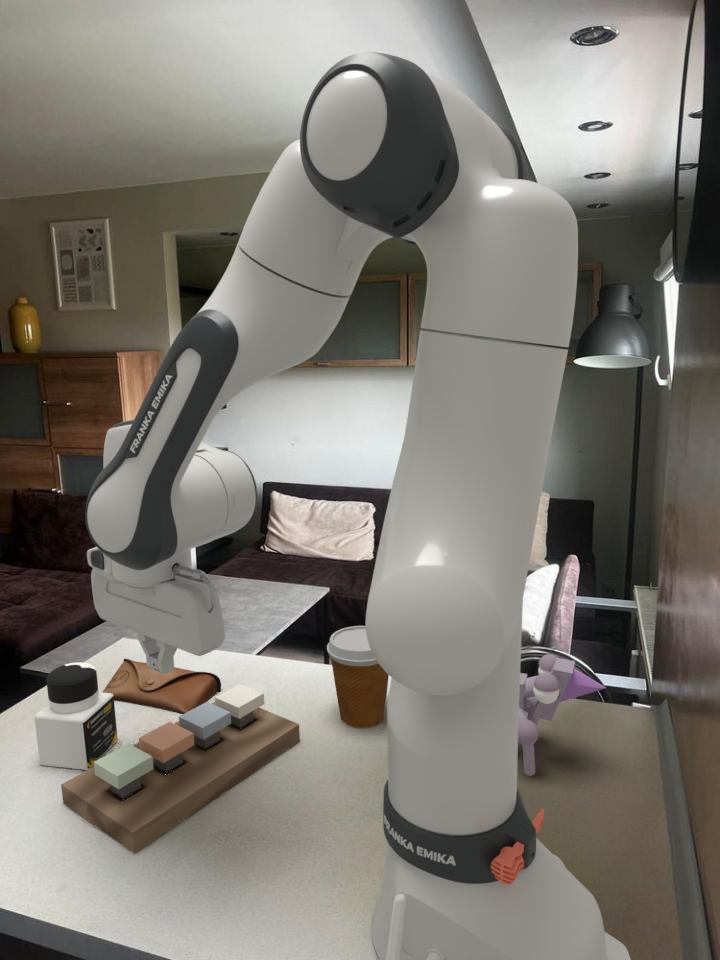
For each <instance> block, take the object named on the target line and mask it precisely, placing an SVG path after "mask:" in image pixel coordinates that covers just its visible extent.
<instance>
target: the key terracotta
mask: <svg viewBox="0 0 720 960" xmlns="http://www.w3.org/2000/svg"><path fill="white" fill-rule="evenodd" d="M174 723H175V722H172V721H167V722H166V723H164V724H163V725H161V726H159V727H157V728H155V729H153V730H151V731H150V732H148V733H145V734H144V735H142V736H139V738H138V743H139V748H140V750H141V751H143V752H145V753H147V754H149V755H151V756H152V757H153V758H154V765H155V766H157V767H158V768H160V769H162V770H164V771H166V772H168V771H169V770H171V769H173V768H174V767H176V766H178V765H179V764H181V763H183V759H182V752H183V751H185V750H187V749H189V748H190V747H192V746H194V733H192V732H190V731H188V730H186V729H184V728H182V727H180V726H178V725H176V724H174Z"/></svg>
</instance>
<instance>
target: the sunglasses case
mask: <svg viewBox="0 0 720 960" xmlns="http://www.w3.org/2000/svg"><path fill="white" fill-rule="evenodd" d="M221 691H222V683H221V679H220V678H219V676H218V675H216V674H215V673H212V672H208V671H194V670H190V669H184V668H179V667H175V666H174V668H173V670H172V671H169V672H167V673H165V674H164V673H161V672H159V671H157V670H154V669H152V668H149V667H147V662H141V661H135V660H132V659H129V658H123V662H122V663H121V665H120V666H119V667H118V668H117V670H116V671H115V673H114V675H112V677H111V679H110V681H108V683H107V685H106V686H105V687H104V689H103V691H102V693H112V694H113V696H114V701H116V702H123V703H128V704H129V703H130V704H134V705H141V706H146V707H150V706H151V707H150V708H155V709H156V708H157V709H161V710H165V711H170V712H173V713H174V712H175V713H179V714H181V715H183V714H185V713H187V712H189V711H190V710H192V709H194V708H196V707H198V706H200V705H202V704H204V703H206V702H209V701H210V700H211V699H212V698H213V697H214V696H215V695H217V694H218V693H220V692H221Z"/></svg>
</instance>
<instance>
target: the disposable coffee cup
mask: <svg viewBox="0 0 720 960" xmlns="http://www.w3.org/2000/svg"><path fill="white" fill-rule="evenodd" d="M326 650H327V653H328V656H329V657H330V659H331V660H330V661H331V662H330V663H331V667H332V674H333V678H334V684H335V685H334V686H335V694H336V698H337V704H338V711H339V716H340V717H339V718H340V720H341V722H343V723H344V724H345V725H347V726H350V727H354V728H370V727H373V726H377V725H378V724H380V723H381V722H382V721H383V720H384V717H385V712H386V711H385V710H386V703H387V702H386V701H387V693H388V686H389V685H388V684H389V677H390V675H388V674H387V673H386V672H385V671H384V669H383V668H382V667H381V666H380V665H379V663H378V662H377V660H376V659H375V657H374V655H373V653H372V651H371V649H370V646H369V643H368V639H367V635H366V625H354V626H348V627H344V628H339V630H336V631H334V632H333V633H332V634H331V635H330V637H329V642H328V643H327V645H326Z"/></svg>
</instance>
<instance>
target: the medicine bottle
mask: <svg viewBox="0 0 720 960" xmlns="http://www.w3.org/2000/svg"><path fill="white" fill-rule="evenodd" d="M97 671H98V670H97V668H96V666H94V665H93V664H91V663H89V662H78V661H77V662H70V663H65V664H62V665H59V666H58V667H56V668H54V669H53V670H51V671H50V672H49V674H48V675H47V676H46V679H45V681H46V688H47V689H46V690H47V698H48V704H47V705H46V706H45V707H43V708H42V709H40V711H39V712H37V713H35V715H34V724H35V725H34V726H35V732H36V742H37V749H38V750H37V751H38V757H39V764H40V766H46V767H56V768H62V767H63V768H64V769H71V768H72V769H74V770H80V769H81V770H82V771H87V770H89V769H91V768H93V767H94V762H95V761H97V760H98V759H100V758H102V757H104V755H106V753H107V752H108V751H109V750H110V749H111V748H112V747H113V746H114V745H115V744H116V743H117V742H118V737H119V736H118V728H117V719H116V717H117V716H116V709H115V708H116V707H115V700H114V696H113V694H112V693H102V692H103V691H102V692H101V691H99V682H98V674H97Z"/></svg>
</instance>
